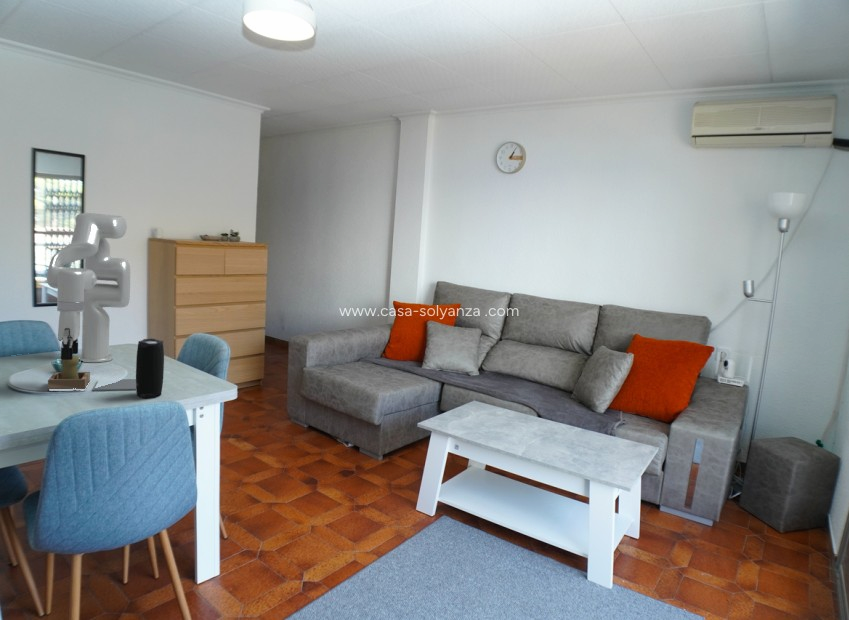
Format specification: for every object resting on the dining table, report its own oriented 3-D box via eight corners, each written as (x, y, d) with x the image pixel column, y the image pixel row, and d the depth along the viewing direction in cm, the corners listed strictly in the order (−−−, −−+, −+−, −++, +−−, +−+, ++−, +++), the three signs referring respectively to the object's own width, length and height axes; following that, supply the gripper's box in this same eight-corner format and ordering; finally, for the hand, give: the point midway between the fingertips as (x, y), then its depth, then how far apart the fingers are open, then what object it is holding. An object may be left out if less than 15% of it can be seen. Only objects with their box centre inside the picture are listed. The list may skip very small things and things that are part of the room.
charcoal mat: (98, 381, 195) (98, 379, 195) (138, 380, 200) (138, 379, 200) (92, 391, 183) (92, 389, 183) (135, 390, 188) (135, 388, 188)
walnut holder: (54, 383, 188) (55, 372, 187) (89, 383, 192) (90, 372, 191) (47, 392, 178) (48, 380, 178) (84, 391, 182) (84, 379, 182)
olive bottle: (55, 387, 184) (55, 355, 182) (73, 384, 189) (74, 353, 188) (65, 390, 181) (65, 358, 180) (83, 387, 186) (84, 356, 185)
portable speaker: (136, 400, 178) (138, 343, 176) (134, 392, 186) (135, 338, 184) (164, 398, 183) (166, 342, 180) (161, 390, 190) (162, 337, 188)
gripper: (62, 303, 188) (61, 351, 190) (51, 309, 172) (50, 361, 174) (88, 304, 191) (86, 351, 193) (79, 310, 175) (77, 361, 177)
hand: (69, 356), depth 183 cm, fingers open, 9 cm apart
